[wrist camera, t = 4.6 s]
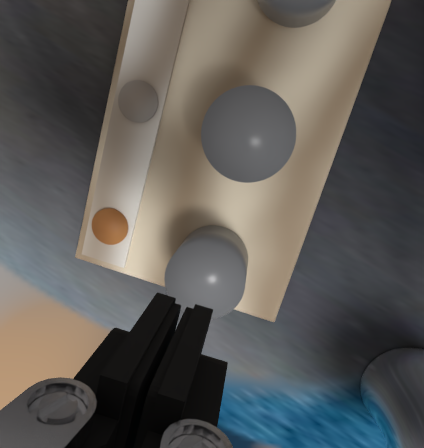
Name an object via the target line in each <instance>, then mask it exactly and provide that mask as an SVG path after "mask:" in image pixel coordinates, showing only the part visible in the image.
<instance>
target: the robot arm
mask: <svg viewBox="0 0 424 448" xmlns="http://www.w3.org/2000/svg"><path fill="white" fill-rule="evenodd" d="M175 301H176V298H174V297H170V296H167V295H164V294H160V293H157V294H156V295H155V296H154V298H153V299H152V301H151V302H150V304H149V305H148V307H147V308H146V309H145V311H144V312H143V314H142V315H141V317H140V318H139V320H138V321H137V322H136V324H135V325H134V327H133V328H132V330H131V331H130V332H128V331H125V330H121V329H118V328H114V329H113V330H112V331H111V332H110V333H109V334H108V336H107V337H106V338H105V340H104V341H103V342H102V343H101V344H100V346H99V347H98V348H97V349H96V351H95V352H94V353H93V355H92V356H91V357H90V358H89V360H88V361H87V362H86V363H85V365H84V366H83V367H82V369H81V370H80V371H79V372H78V373H77V375H76V376H75V377H74V379H70V378H52V379H47V380H44V381H40V382H38V383H36V384H34V385H33V386H31V387H29V388H28V389H27V390H25V391H24V392H23V393H22V394H20V395H19V396H18V397H17V398H15V399H14V400H13V401H12V402H10V403H9V404H8V405H7V406H5V407H4V408H3V409H2V410H0V448H233V447H232V444H231V443H230V441H229V439H228V438H227V436H226V435H225V434H224V433H223V432H222V431H221V430H220V429H218V428H217V424H218V418H219V412H220V406H221V400H222V394H223V388H224V382H225V376H226V370H227V364H228V363H227V362H225V361H222V360H218V359H215V358H212V357H209V356H205V355H202V354H201V352H202V349H203V345H204V342H205V338H206V334H207V331H208V327H209V324H210V320H211V317H212V313H213V309H211V308H207V307H204V306H201V305H197V304H195V306H194V308H189V307H186V309H185V311H184V314H183V316H182V318H181V320H180V322H179V324H178V326H177V329H176V325H177V321H178V317H179V313H180V309H181V305H180V304H176V303H175ZM175 329H176V331H175Z"/></svg>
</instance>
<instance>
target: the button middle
mask: <svg viewBox="0 0 424 448" xmlns="http://www.w3.org/2000/svg"><path fill="white" fill-rule="evenodd" d="M201 142H202V147H203V150H204V153H205V155H206V158H207V159H208V161H209V163H210V164H211V165H212V166H213V168H214V169H215V170H216V171H218V172H219V173H220V174H221V175H223V176H225V177H226V178H228V179H231V180H234V181H237V182H244V183H252V182H258V181H262V180H265V179H267V178H269V177H271V176H273V175H274V174H276V173H277V172H278V171H280V170H281V169H282V168H283V166H284V165H285V164H286V163H287V161H288V160H289V158H290V156H291V155H292V152H293V150H294V146H295V143H296V123H295V120H294V116H293V114H292V111H291V110H290V108H289V106H288V105H287V103H286V102H285V101H284V100H283V99H282V98H281V97H280V96H279V95H277V94H276V93H275V92H273V91H271V90H269V89H267V88H264V87H261V86H255V85H244V86H239V87H235V88H232V89H230V90H228V91H226V92H224V93H223V94H222V95H220V96H219V97H218V98H217V99H216V100H215V101H214V102H213V103H212V104H211V106H210V107H209V109H208V110H207V112H206V114H205V117H204V120H203V123H202V128H201Z"/></svg>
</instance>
